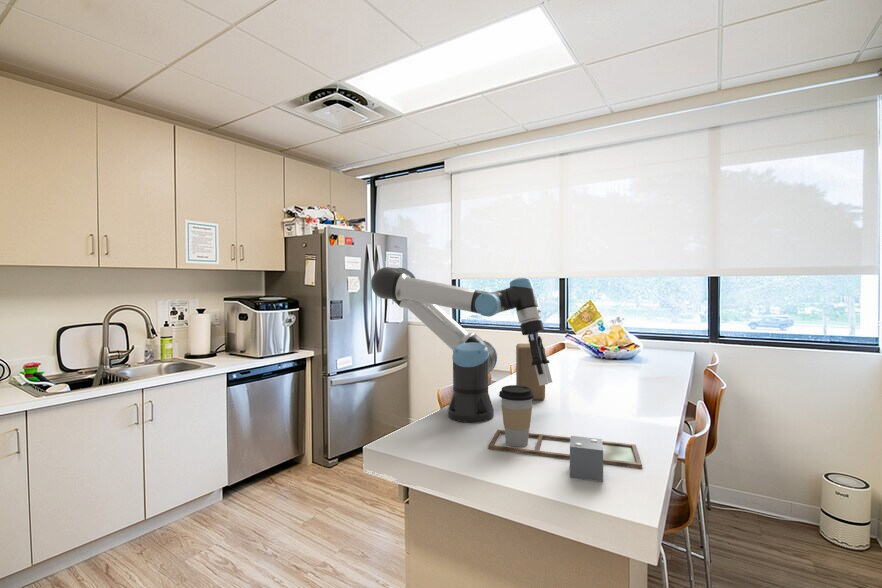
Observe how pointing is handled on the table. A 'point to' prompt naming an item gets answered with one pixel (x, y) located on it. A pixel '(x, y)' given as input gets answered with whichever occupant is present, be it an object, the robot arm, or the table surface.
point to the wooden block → (528, 371)
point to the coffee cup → (516, 413)
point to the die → (586, 458)
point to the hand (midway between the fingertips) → (546, 384)
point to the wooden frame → (611, 454)
